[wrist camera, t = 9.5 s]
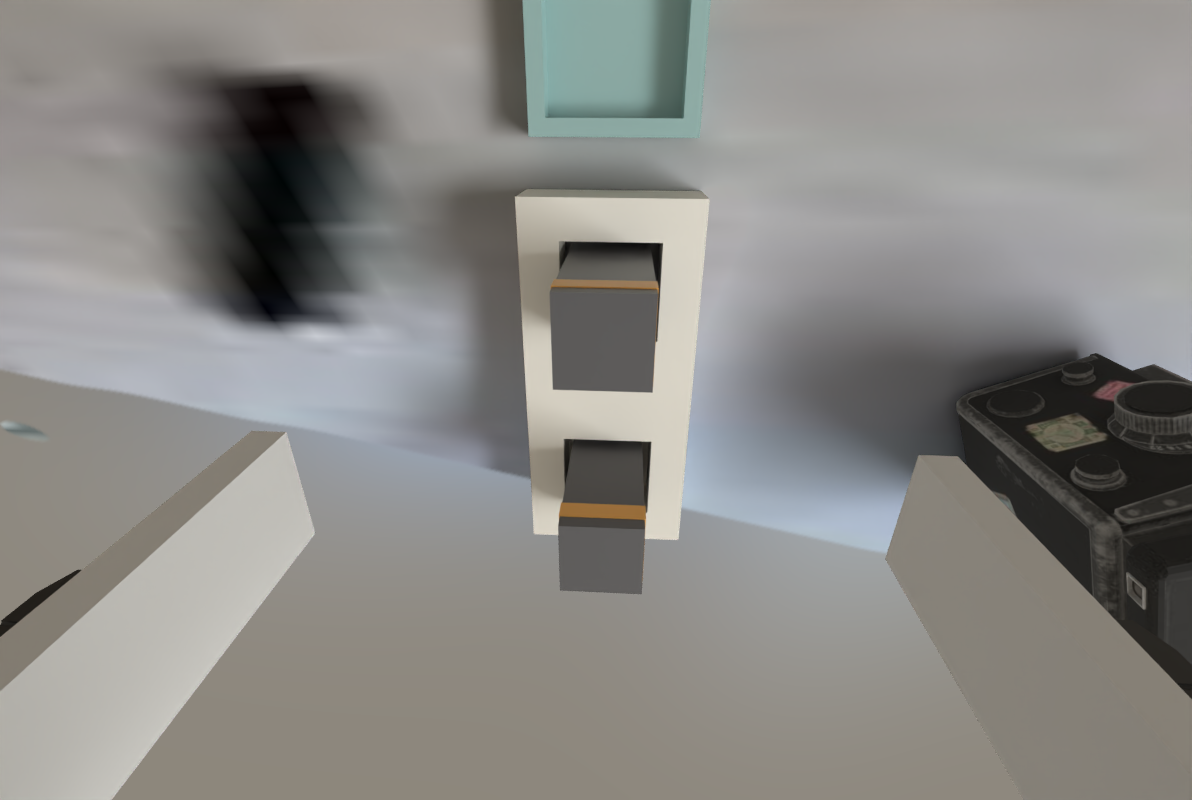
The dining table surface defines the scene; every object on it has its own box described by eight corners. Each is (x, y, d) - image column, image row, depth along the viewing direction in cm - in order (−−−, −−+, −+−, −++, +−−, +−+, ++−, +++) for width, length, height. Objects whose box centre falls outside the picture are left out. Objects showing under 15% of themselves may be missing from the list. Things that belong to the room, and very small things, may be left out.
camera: (1145, 459, 34) (1483, 680, 20) (962, 508, 36) (1157, 735, 23) (1145, 307, 30) (1565, 457, 16) (938, 374, 32) (1159, 552, 19)
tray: (524, -129, 23) (515, -147, 22) (716, -132, 23) (722, -151, 21) (534, 135, 28) (528, 136, 26) (695, 137, 27) (699, 138, 26)
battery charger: (527, 188, 29) (477, 220, 20) (701, 190, 28) (735, 223, 19) (541, 501, 38) (512, 623, 28) (674, 506, 37) (688, 632, 28)
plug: (573, 239, 29) (548, 290, 20) (650, 241, 29) (659, 293, 20) (574, 314, 31) (551, 390, 22) (647, 315, 31) (653, 393, 22)
